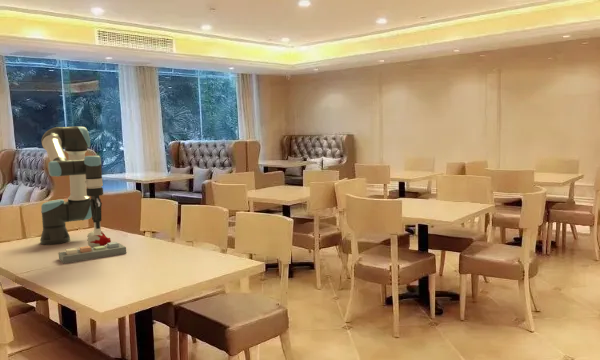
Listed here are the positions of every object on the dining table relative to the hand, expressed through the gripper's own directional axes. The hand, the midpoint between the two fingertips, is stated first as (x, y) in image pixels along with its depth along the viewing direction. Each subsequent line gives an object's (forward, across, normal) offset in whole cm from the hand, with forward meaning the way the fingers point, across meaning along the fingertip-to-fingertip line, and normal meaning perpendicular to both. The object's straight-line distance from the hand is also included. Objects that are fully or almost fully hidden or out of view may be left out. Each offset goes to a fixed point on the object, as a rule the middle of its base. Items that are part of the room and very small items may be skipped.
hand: (97, 234), depth 250 cm
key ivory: (+8, 0, -13) cm, 15 cm away
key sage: (+9, 0, 0) cm, 9 cm away
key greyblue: (+8, 0, +7) cm, 10 cm away
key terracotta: (+8, 0, -6) cm, 10 cm away
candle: (+11, -19, +4) cm, 22 cm away
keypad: (+10, 0, -3) cm, 11 cm away
